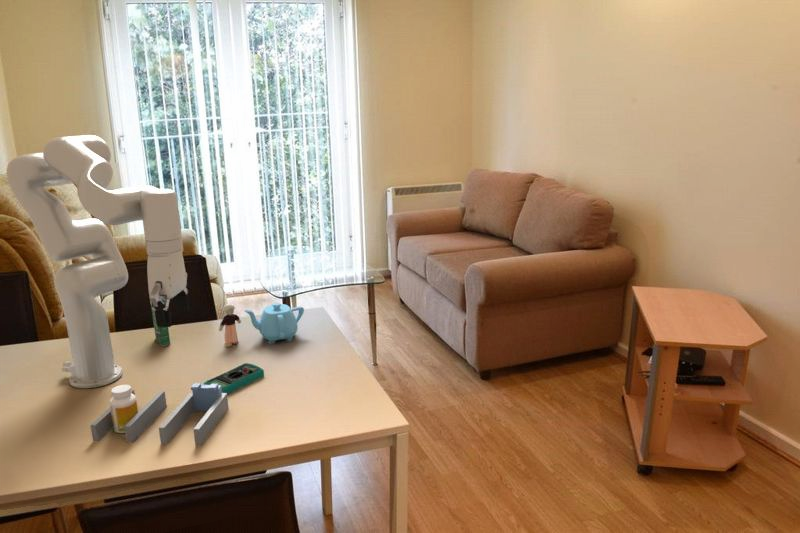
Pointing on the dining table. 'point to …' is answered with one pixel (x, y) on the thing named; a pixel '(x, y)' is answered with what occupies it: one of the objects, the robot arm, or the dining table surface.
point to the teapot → (277, 322)
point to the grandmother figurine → (230, 325)
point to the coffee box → (160, 330)
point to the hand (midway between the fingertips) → (173, 318)
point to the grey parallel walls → (196, 400)
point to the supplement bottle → (122, 407)
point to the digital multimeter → (237, 377)
